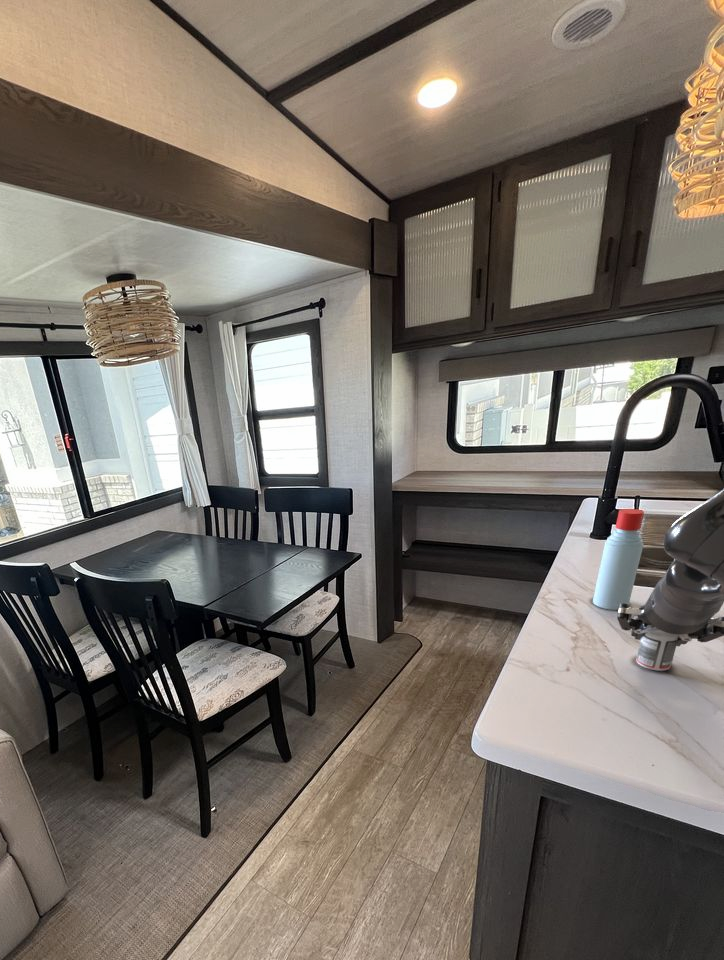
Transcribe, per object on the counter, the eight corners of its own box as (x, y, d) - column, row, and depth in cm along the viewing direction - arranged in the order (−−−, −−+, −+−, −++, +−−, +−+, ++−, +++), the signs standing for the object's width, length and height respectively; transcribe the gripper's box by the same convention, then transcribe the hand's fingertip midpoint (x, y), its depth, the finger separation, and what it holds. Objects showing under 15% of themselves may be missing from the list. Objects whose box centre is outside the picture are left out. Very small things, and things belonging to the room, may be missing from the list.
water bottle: (627, 600, 103) (650, 510, 95) (628, 612, 98) (652, 518, 90) (593, 596, 106) (611, 508, 98) (592, 607, 101) (611, 516, 93)
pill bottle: (665, 659, 82) (677, 616, 78) (673, 673, 78) (687, 628, 74) (632, 655, 83) (643, 613, 80) (639, 669, 80) (650, 625, 76)
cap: (639, 526, 96) (643, 509, 94) (640, 531, 93) (644, 514, 91) (615, 524, 98) (619, 508, 96) (615, 529, 95) (619, 513, 93)
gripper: (754, 583, 64) (713, 625, 78) (626, 570, 71) (609, 610, 85) (750, 634, 62) (709, 667, 76) (619, 615, 70) (603, 649, 84)
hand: (656, 637), depth 81 cm, fingers closed on pill bottle, 4 cm apart
